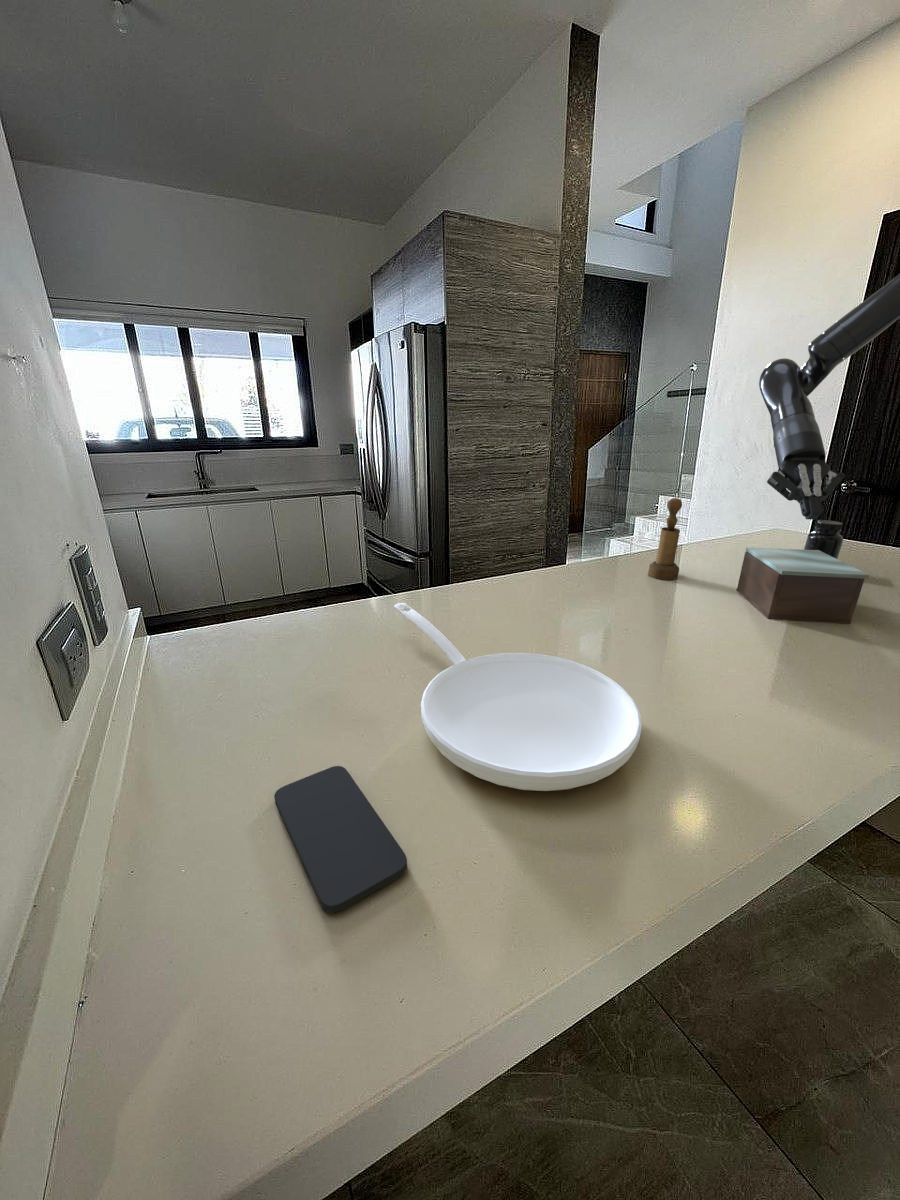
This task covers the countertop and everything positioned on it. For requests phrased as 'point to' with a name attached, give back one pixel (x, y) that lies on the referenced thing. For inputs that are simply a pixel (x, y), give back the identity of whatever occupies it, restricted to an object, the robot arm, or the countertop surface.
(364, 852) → the phone
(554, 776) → the pan
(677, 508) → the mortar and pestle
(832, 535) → the supplement bottle
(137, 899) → the countertop surface
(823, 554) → the glass lid
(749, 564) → the case
